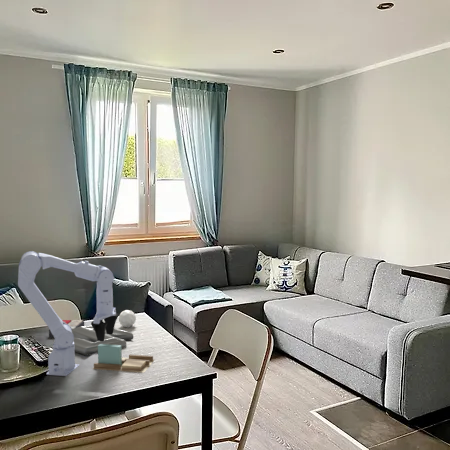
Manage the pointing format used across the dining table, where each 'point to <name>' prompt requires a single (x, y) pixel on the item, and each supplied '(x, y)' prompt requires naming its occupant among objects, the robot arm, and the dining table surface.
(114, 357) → the teal panel
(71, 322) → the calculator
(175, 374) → the dining table surface
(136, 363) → the oak offcut
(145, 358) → the rack
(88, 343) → the emblem
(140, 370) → the tan flat block
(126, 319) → the geometric ball
